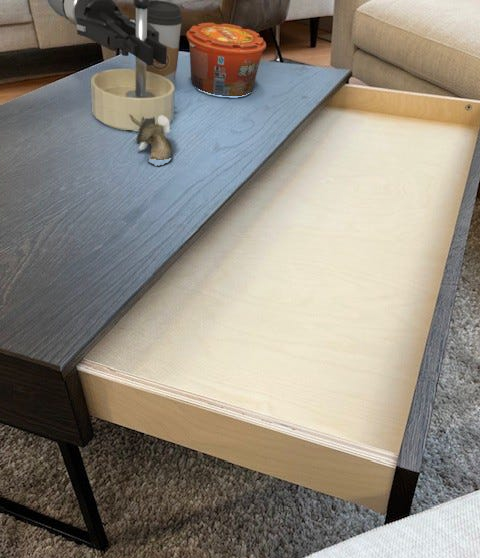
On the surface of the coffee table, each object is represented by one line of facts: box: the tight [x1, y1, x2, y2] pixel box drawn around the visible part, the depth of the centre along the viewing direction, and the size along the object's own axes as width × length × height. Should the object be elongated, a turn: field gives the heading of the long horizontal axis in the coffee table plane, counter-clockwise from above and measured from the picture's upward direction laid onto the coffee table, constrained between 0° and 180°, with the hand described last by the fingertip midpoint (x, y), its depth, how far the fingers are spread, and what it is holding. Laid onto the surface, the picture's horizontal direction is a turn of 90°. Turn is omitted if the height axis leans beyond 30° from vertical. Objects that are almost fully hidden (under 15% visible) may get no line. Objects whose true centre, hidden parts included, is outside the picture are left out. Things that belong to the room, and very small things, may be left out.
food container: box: [186, 22, 267, 96], centre depth 126 cm, size 16×16×11 cm
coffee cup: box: [146, 0, 183, 85], centre depth 120 cm, size 8×8×15 cm
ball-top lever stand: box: [126, 0, 155, 98], centre depth 105 cm, size 5×5×19 cm
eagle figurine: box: [129, 115, 174, 160], centre depth 100 cm, size 8×7×9 cm
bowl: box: [90, 68, 176, 131], centre depth 110 cm, size 14×14×6 cm
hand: (157, 56), depth 101 cm, fingers closed on ball-top lever stand, 2 cm apart
